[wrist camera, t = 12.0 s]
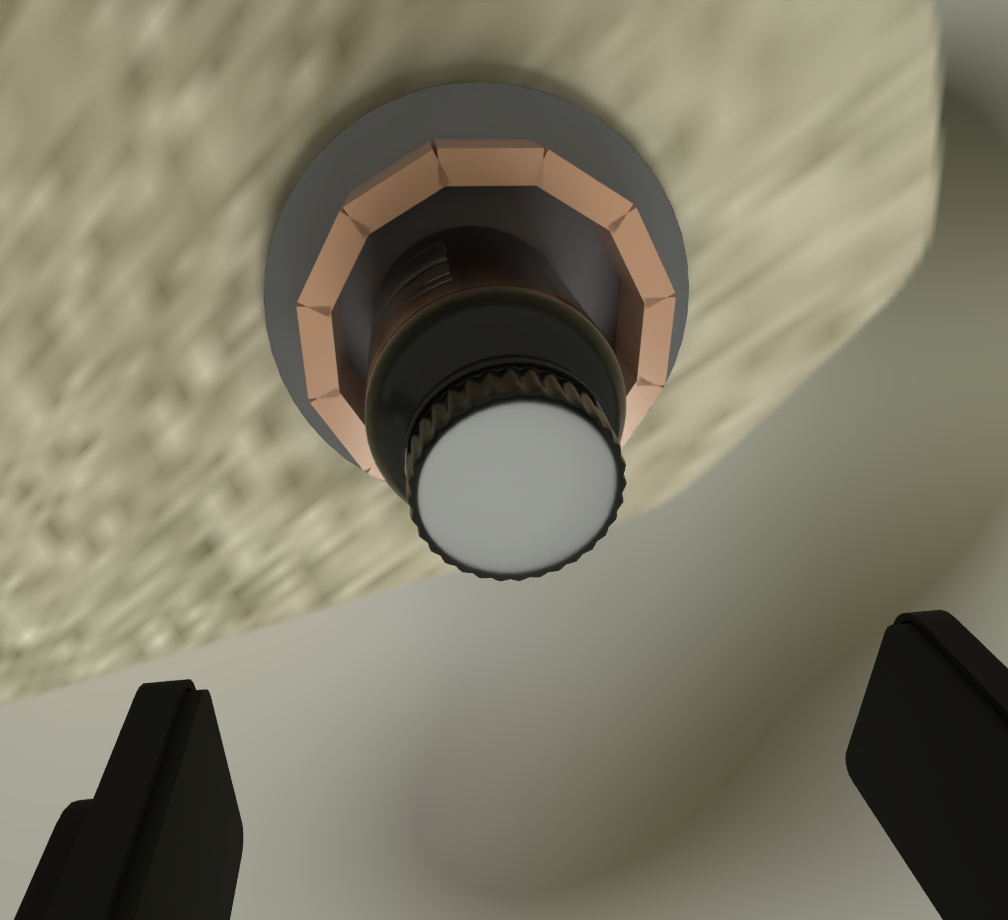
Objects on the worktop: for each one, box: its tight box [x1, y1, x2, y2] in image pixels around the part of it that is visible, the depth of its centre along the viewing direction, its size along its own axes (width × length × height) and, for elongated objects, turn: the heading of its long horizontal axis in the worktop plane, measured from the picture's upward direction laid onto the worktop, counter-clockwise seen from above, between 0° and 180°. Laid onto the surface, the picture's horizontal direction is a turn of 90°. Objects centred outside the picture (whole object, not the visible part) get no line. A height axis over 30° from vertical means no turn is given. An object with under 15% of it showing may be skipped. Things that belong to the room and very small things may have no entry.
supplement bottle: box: [364, 226, 627, 581], centre depth 21 cm, size 7×7×12 cm
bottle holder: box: [264, 82, 689, 483], centre depth 25 cm, size 15×15×4 cm
